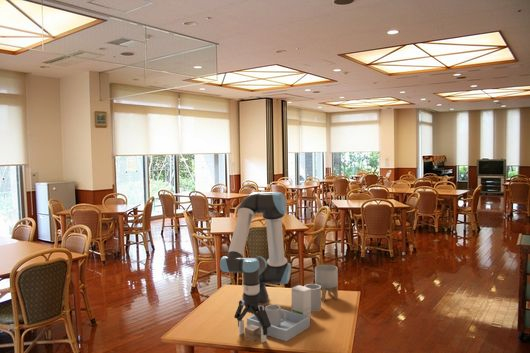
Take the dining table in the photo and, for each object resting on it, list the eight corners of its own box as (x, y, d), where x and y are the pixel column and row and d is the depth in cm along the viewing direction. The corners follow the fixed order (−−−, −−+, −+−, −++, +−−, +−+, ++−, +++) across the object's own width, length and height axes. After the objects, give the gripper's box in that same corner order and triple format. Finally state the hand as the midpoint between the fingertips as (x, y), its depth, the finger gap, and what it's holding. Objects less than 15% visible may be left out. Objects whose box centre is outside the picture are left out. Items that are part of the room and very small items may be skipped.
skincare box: (291, 317, 223) (290, 287, 222) (299, 313, 228) (298, 284, 227) (303, 321, 217) (303, 291, 216) (311, 317, 222) (311, 287, 221)
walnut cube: (251, 334, 203) (251, 324, 203) (260, 337, 200) (259, 327, 200) (245, 338, 199) (244, 328, 199) (253, 341, 196) (253, 330, 196)
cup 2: (319, 312, 229) (319, 290, 228) (302, 310, 232) (302, 288, 231) (322, 306, 237) (322, 284, 236) (306, 304, 240) (306, 283, 239)
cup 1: (266, 322, 215) (265, 304, 215) (286, 321, 215) (285, 304, 214) (265, 328, 208) (265, 310, 208) (286, 328, 208) (286, 310, 207)
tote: (271, 315, 225) (271, 306, 225) (309, 326, 211) (309, 316, 210) (247, 328, 210) (246, 318, 210) (286, 341, 195) (286, 330, 195)
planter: (334, 303, 241) (334, 272, 240) (312, 300, 247) (311, 269, 245) (340, 295, 253) (340, 265, 252) (319, 292, 258) (319, 263, 257)
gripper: (226, 289, 203) (227, 333, 205) (267, 300, 188) (268, 347, 189) (237, 285, 209) (238, 328, 210) (278, 295, 193) (278, 341, 195)
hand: (252, 337), depth 200 cm, fingers open, 13 cm apart
